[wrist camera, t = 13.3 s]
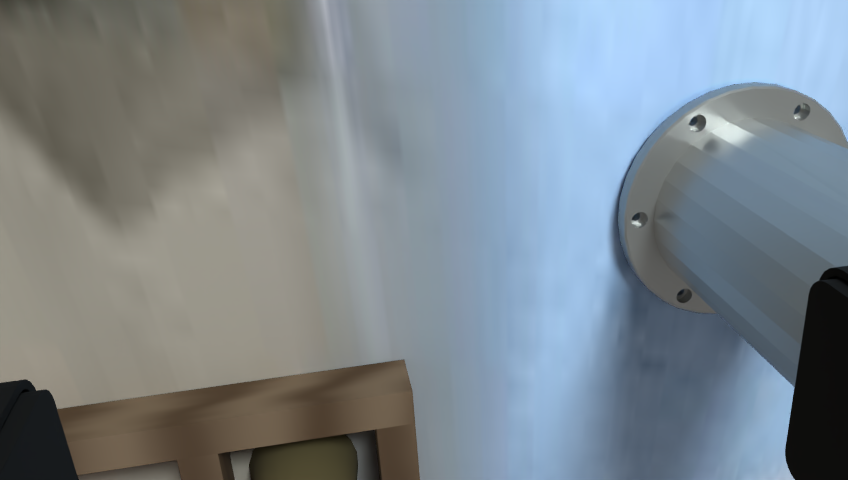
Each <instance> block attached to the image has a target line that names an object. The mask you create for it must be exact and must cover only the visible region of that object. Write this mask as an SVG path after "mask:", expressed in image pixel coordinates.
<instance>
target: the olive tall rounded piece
mask: <svg viewBox="0 0 848 480" xmlns="http://www.w3.org/2000/svg"><path fill="white" fill-rule="evenodd" d="M249 467H250V475H251V480H357V472H358V460H357V451H356V449H355V447H354V445H353V443H352V441H351V439H349V438H348V437H347V436H346V435H345V434H343V435H336V436H330V437H323V438H316V439H310V440H303V441H297V442H290V443H284V444H277V445H271V446H264V447H258V448H255V449H254V450H253V453H252V457H251V460H250V464H249Z"/></svg>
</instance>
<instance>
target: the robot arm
mask: <svg viewBox="0 0 848 480" xmlns="http://www.w3.org/2000/svg"><path fill="white" fill-rule="evenodd" d="M692 118H693V121H692V122H691V123H690V120H691V119H692ZM636 213H637V214H636ZM635 214H636V216H635V217H633V216H634V215H635ZM632 217H633V218H632ZM618 227H619V236H620V242H621V245H622V248H623V251H624V254H625V257H626V260H627V262H628V263H629V265H630V267H631V268H632V270H633V271H634V273H635V275H636V276H637V277H638V278H639V279H640V280H641V281H642V282H643V284H644V285H645V286H646V287H647V288H648V289H649V290H650V291H651V292H653V293H654V294H655V295H656V296H658V297H659V298H660V299H661V300H663V301H664V302H666V303H668V304H670V305H672V306H674V307H676V308H679V309H683V310H687V311H691V312H695V313H704V314H718V315H719V316H720V317H721V318H722V319H723V320H724V321H725V322H727V323H728V324H729V325H730V326H731V327H732V328H733V329H734V330H735V331H736V332H737V333H738V334H739V335H740V336H741V337H742V338H743V339H744V340H745V341H746V342H747V343H749V344H750V345H751V346H752V347H753V348H754V349H755V350H756V351H757V352H758V353H759V354H760V355H761V356H762V357H763V358H764V359H765V360H766V361H767V362H768V363H769V364H771V365H772V366H773V367H774V368H775V369H776V370H777V371H778V372H779V373H780V374H781V375H782V376H783V377H784V378H785V379H786V380H787V381H788V382H789V383H790V384H792V385H793V386H794V387H795V389H794V395H793V402H792V409H791V415H790V422H789V429H788V435H787V442H786V449H785V456H786V462H787V465H788V468H789V470H790V472H791V474H792V476H793V477H794V479H795V480H848V142H847V140H846V137H845V135H844V133H843V130H842V128H841V127H840V125H839V124H838V123H837V121H836V120H835V118H834V117H833V116H832V114H831V113H830V112H829V111H828V110H827V109H825V108H824V107H823V106H822V105H821V104H819V103H818V102H817V101H816V100H815V99H812V98H810V97H808V96H806V95H804V94H802V93H800V92H798V91H795V90H792V89H789V88H786V87H783V86H780V85H777V84H767V83H757V82H753V83H744V84H734V85H730V86H726V87H723V88H720V89H717V90H713V91H710V92H708V93H706V94H704V95H702V96H700V97H698V98H696V99H694V100H692V101H690V102H688V103H687V104H685V105H684V106H683V107H681V108H680V109H679V110H677V111H676V112H675V113H673V114H672V115H671V116H669V117H668V118H667V119H666V120H665V121H664V122H663V123H662V124H661V125H660V126H659V127H658V128H657V129H656V130H655V131H654V132H653V133H652V134H651V135H650V137H649V138H648V140H647V141H646V142H645V144H644V145H643V147H642V148H641V150H640V151H639V152H638V154H637V155H636V157H635V159H634V161H633V163H632V166H631V168H630V170H629V172H628V174H627V176H626V179H625V182H624V186H623V189H622V193H621V197H620V202H619V214H618ZM0 480H79V479H78V476H77V473H76V470H75V466H74V463H73V460H72V457H71V453H70V450H69V447H68V444H67V440H66V437H65V434H64V430H63V427H62V424H61V421H60V417H59V414H58V411H57V408H56V404H55V401H54V399H53V396H52V395H51V393H50V392H49V391H48V390H38V391H36V390H35V387H34V386H33V385H32V383H31V382H30V381H28V380H19V381H11V382H4V383H0Z"/></svg>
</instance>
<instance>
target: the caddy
mask: <svg viewBox="0 0 848 480" xmlns="http://www.w3.org/2000/svg"><path fill="white" fill-rule="evenodd" d="M57 411H58V414H59V417H60V421H61V424H62V427H63V430H64V434H65V437H66V440H67V444H68V447H69V450H70V453H71V457H72V460H73V463H74V466H75V470H76V473H77V475H82V474H89V473H95V472H102V471H108V470H115V469H121V468H128V467H134V466H141V465H147V464H154V463H160V462H167V461H173V460H177V463H178V467H179V471H180V475H181V480H235V479H234V474H233V469H232V464H231V459H230V454H229V452H232V451H238V450H245V449H251V448H258V447H264V446H271V445H277V444H284V443H290V442H297V441H303V440H310V439H316V438H323V437H330V436H336V435H343V434H349V433H356V432H362V431H369V430H375V439H376V448H377V457H378V466H379V476H380V480H420V476H419V464H418V452H417V441H416V429H415V417H414V405H413V393H412V388H411V384H410V380H409V376H408V372H407V369H406V365H405V361H404V360H398V361H391V362H384V363H377V364H370V365H363V366H356V367H349V368H342V369H335V370H328V371H321V372H314V373H307V374H300V375H293V376H286V377H279V378H272V379H265V380H258V381H251V382H244V383H237V384H230V385H223V386H216V387H210V388H203V389H196V390H189V391H182V392H175V393H168V394H161V395H154V396H147V397H140V398H133V399H126V400H119V401H112V402H105V403H98V404H91V405H84V406H77V407H70V408H63V409H57Z"/></svg>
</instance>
